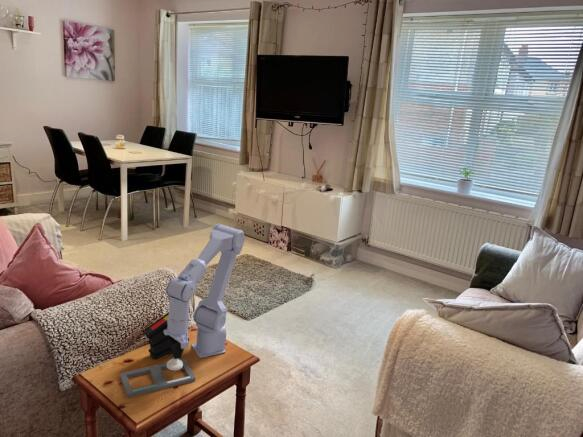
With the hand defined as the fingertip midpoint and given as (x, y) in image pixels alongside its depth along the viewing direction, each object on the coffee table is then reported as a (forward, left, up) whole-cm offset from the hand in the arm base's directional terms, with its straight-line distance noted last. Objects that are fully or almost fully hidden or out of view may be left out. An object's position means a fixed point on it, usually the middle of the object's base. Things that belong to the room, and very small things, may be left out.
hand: (175, 355), depth 133 cm
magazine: (0, -11, -7) cm, 14 cm away
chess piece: (0, 0, -4) cm, 4 cm away
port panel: (+5, 0, -7) cm, 9 cm away
